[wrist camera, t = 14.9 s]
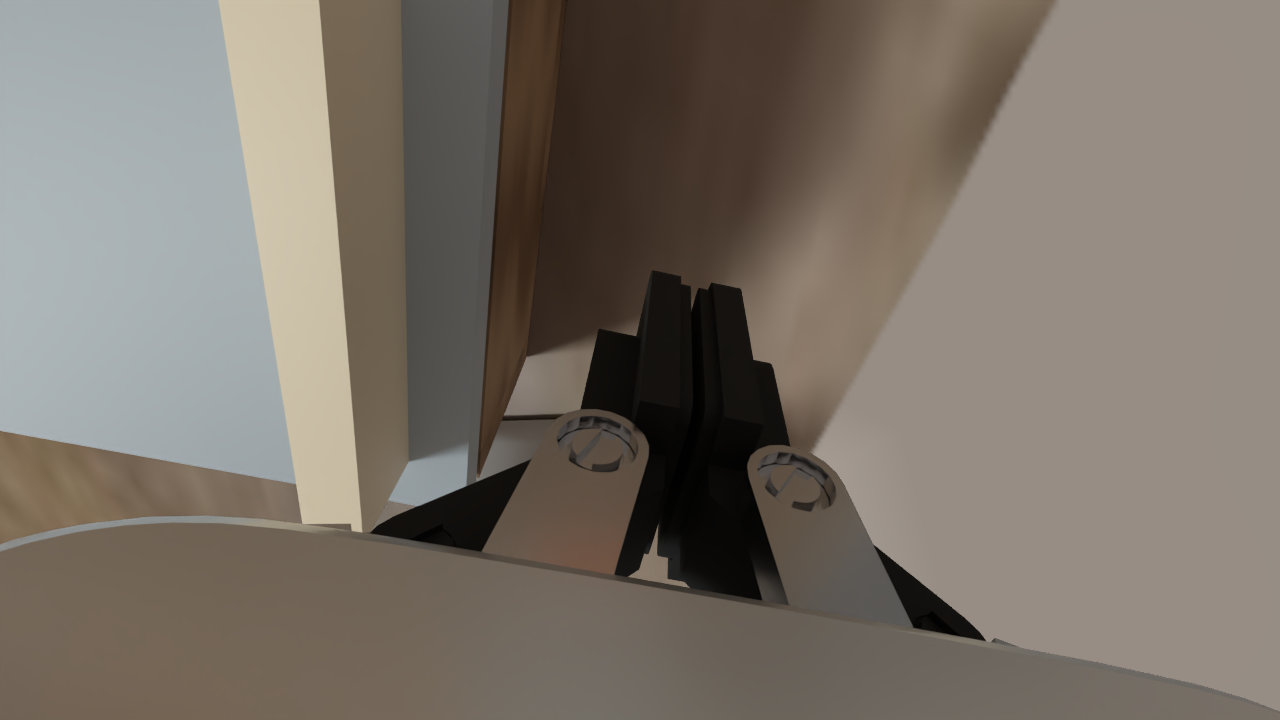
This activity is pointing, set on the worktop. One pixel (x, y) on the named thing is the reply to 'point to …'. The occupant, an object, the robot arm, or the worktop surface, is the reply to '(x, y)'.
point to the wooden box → (518, 199)
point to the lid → (253, 236)
